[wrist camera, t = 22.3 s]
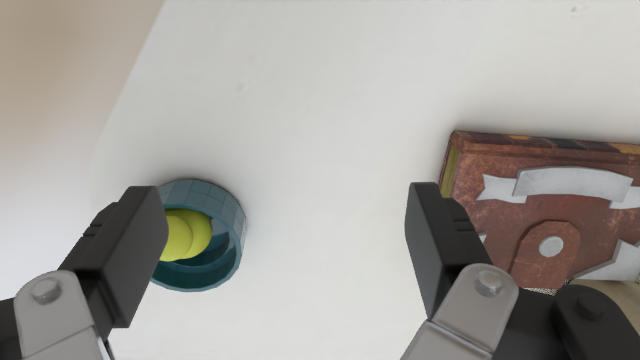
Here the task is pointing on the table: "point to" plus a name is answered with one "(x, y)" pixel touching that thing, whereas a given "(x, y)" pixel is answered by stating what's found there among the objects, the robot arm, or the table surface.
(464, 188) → the book
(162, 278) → the bowl
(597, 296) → the robot arm
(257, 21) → the table surface
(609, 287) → the flower pot
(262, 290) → the table surface
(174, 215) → the pear
